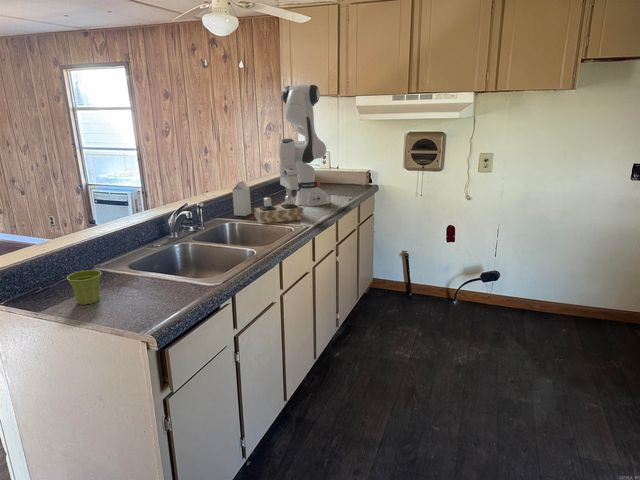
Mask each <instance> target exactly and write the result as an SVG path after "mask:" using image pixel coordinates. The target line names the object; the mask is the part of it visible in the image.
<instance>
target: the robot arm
mask: <svg viewBox="0 0 640 480" xmlns="http://www.w3.org/2000/svg"><path fill="white" fill-rule="evenodd" d="M281 91H282V92H281V97H282V102H283V103H284V104H285V119H286V120H287V121H288V122H289V123H290V124H291V125H293V126H295V130H296V132H297V133H298V134H299V135H302V136H303V137H304V140H294V139H293V138H283V139H281V140H280V141H279V147H278V154H279V155H278V157H279V175H280V176H279V183H280V186H282V187H285V192H286V195H285V196H292V191H294V190H295V191H296V198H295V202H294V204H297V205H298V206H303V207H304V206H305V207H306V206H307V207H315V206H321V205H329V204H331V203H332V202H331V200H330V199H328V197H327V196H328V195H327V193H326V192H325V191H324V190H322V188H319V186H321V182H319V181H316V179H315V177H316V174H315V173H316V172H315V171H316V170H315V167H313V166H312V165H311V164H310V163H312V162H313V161H314V160H316V159H322V158H324V157H325V156H326V154H327V146H326V144H325V142H323V141H322V140H321V139H320V138H319V137H318V135H317V133H316V130H315V117H314V116H315V113H314V106H315V105H316V104H317V103H318V102H319V100H320V96H321V93H320V90H319V87H318V86H317V85H316V84H295V85H287V86H284V88H282V90H281Z"/></svg>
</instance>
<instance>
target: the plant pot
mask: <svg viewBox="0 0 640 480" xmlns="http://www.w3.org/2000/svg"><path fill="white" fill-rule="evenodd" d="M102 274H103V273H102V271H101V270H97V269H87V270H80V271H76V272H73V273H71V274H69V275H67V277H66V280H67V281H68V282H69V284H70V286H71V288H72V291H73V294H74V296H75V301H76V303H77V304H78V305H80V306H81V305H82V306H83V305H84V306H85V305H87V304H90V305H91V304H95V303H97V302H99V300H100V282H101V281H100V280H101V276H102Z"/></svg>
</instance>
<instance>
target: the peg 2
mask: <svg viewBox="0 0 640 480" xmlns="http://www.w3.org/2000/svg"><path fill="white" fill-rule="evenodd" d="M284 200H285V201H284V202H285V204H286V207H287V206H293V204H294V198H293V195H291V196H287V195H285V197H284Z"/></svg>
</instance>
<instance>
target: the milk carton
mask: <svg viewBox="0 0 640 480" xmlns="http://www.w3.org/2000/svg"><path fill="white" fill-rule="evenodd" d="M250 190H251V189H250V186H248V185H247V184H246V183H245V181H244V180H242V181H238V182H237V183H236V184H235V186H234V187H233V188H232V191H231V192H232V204H233V214H234V215H233V216H236V217H237V216H238V217H239V216H240V217H246V216H249V215H250V214H252V207H251V206H252V205H251V191H250Z"/></svg>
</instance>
